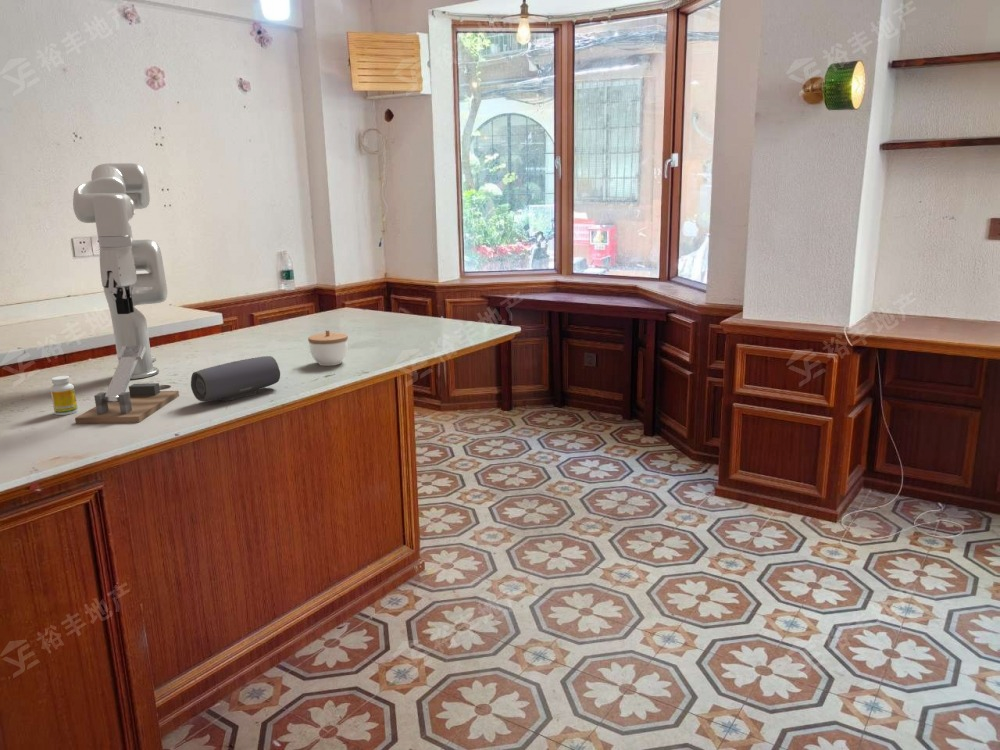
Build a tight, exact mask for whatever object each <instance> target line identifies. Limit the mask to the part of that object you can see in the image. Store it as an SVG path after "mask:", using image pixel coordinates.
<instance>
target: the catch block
mask: <svg viewBox="0 0 1000 750" xmlns="http://www.w3.org/2000/svg"><path fill="white" fill-rule="evenodd" d="M160 391H161V388H160V383H159V382H158V383H154V382H153V383H147V382H146V383H132V384H131V385H128V392H130V396H154V395H157V394H159V393H160Z"/></svg>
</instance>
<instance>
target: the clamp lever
mask: <svg viewBox="0 0 1000 750" xmlns="http://www.w3.org/2000/svg"><path fill="white" fill-rule="evenodd" d="M145 350H146V348H145V346H122V348H121V350H120V353H119V355H118V356H117V360H118V359H119V360H120V361H119V363H118V364H117V366H116V368H115V371H114V372H113V373H114V374H113V376H112V378H111V380H110V383H109V385H108V387H107V390H106V391H105V392H106V394H105V397H104V398H103V401H104V403H114V402H119V398H118V395H119V394H121V393H123V392H127V388H128V387H129V383H130V381H131V380H132V379H131V376H132V374H133V371H134V369H135V366H136V364H137V361H138V360H142V358H143V355H144V353H145Z"/></svg>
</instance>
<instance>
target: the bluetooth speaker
mask: <svg viewBox="0 0 1000 750" xmlns="http://www.w3.org/2000/svg"><path fill="white" fill-rule="evenodd" d="M280 379H281V371H280V367H279V365H278V362H277V360H276V359H275V358H274V357H273V356H272V355H266V356H264V355H263V356H258V357H251V358H246V359H241V360H240V359H239V360H235V361H230V362H226V363H222V364H218V365H213V366H210V367H207V368H203V369H200V370H196V371H194V372H192V375H191V379H190V387H191V391H192V394H193V396H194V397H195V399H197V400H198V401H200V402H211V401H215V400H220V401H223V402H227V400H228V401H231V400H232V399H233V400H236V398H237V399H241V398H244V396H245V397H248V396H251V394H252V395H254V393H255V394H257V391H258V390H261V389H264V388H267V387H270V386H272V385H275V384H277V383H278V382H279V381H280ZM247 395H248V396H247ZM240 397H241V398H240Z"/></svg>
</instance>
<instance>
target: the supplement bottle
mask: <svg viewBox="0 0 1000 750" xmlns="http://www.w3.org/2000/svg"><path fill="white" fill-rule="evenodd" d="M70 382H71V379H70V376H69V375H59V376H54V377H52V378H51V384H52V386H51V387H50V395H51V402H52V405H53V406H52V407H53V412H54V414H55V415H57V416H69V415H72V414H76V413H77V412H78V409H79V408H78V403H77V397H76V391H75V385H73V384H72V383H70Z"/></svg>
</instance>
